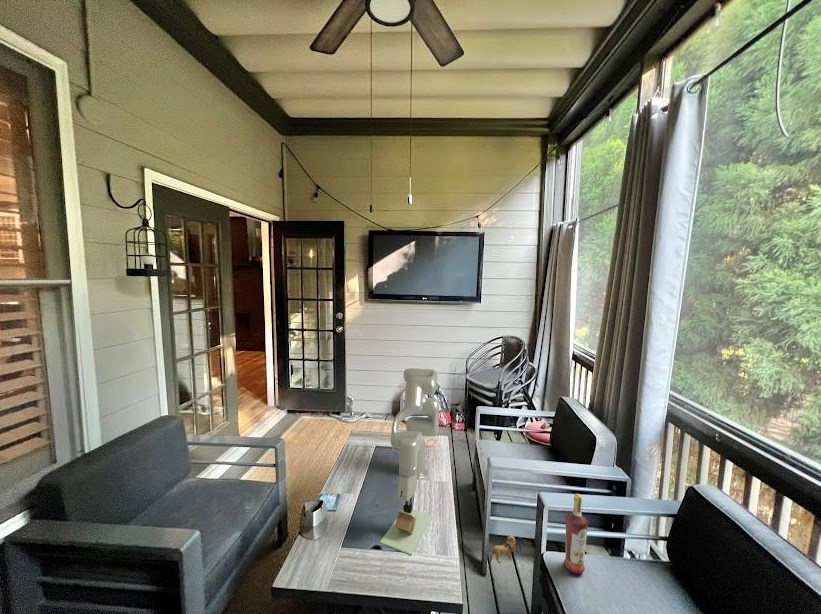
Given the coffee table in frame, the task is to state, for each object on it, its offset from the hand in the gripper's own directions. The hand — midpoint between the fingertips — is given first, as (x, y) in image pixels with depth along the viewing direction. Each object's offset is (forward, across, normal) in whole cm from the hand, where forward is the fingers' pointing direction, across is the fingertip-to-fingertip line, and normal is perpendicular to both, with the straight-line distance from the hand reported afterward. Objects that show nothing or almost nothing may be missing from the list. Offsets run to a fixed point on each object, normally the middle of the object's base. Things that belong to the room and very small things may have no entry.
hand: (407, 511), depth 140 cm
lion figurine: (+9, -4, +38) cm, 39 cm away
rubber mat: (+9, -1, 0) cm, 9 cm away
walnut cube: (+2, -1, 0) cm, 2 cm away
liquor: (+9, -11, +63) cm, 64 cm away
